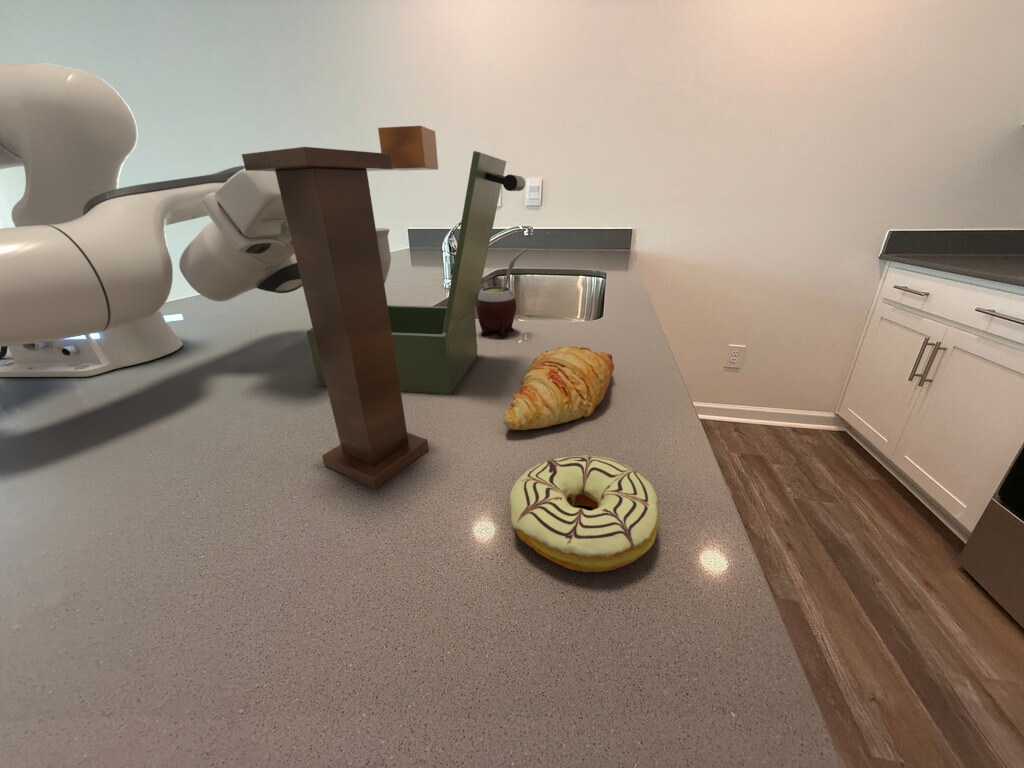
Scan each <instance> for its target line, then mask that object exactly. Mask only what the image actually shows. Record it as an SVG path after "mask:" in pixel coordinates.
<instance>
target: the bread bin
mask: <svg viewBox="0 0 1024 768" xmlns="http://www.w3.org/2000/svg"><path fill="white" fill-rule="evenodd" d="M387 305H388V312H389V318H390V325H391V331H392V338H393V344H394V351H395V357H396V364H397V370H398V377H399V383H400V390H401V392H407V393H408V392H409V393H423V394H437V395H438V394H439V395H452V394H453V392H454V390H455V389H456V387H457V386H458V385H459V383H460V382H461V380H462V379H463V378H464V376H465V375H466V373H468V370H469V369H470V367H471V366H472V365H473V364H474V362H475V360H476V359H477V357H478V341H477V325H476V311H475V309H476V308H475V307H474V308H473V309H472V310H471V311H470V312H469V313H468V314H467V315H466V316H465V317H464V318H463V319H462V320H461V321H460V322H459V323H458V324H457V325H456V326H455V327H454V328H453V329H452V330H451V331H450V332H449V333H448V334H447V333H443V326H444V320H445V315H446V309H447V306H435V305H433V306H432V305H430V306H429V305H399V304H398V305H394V304H392V305H391V304H387ZM306 337H307V340H308V344H309V348H310V352H311V357H312V360H313V365H314V369H315V372H316V377H317V380H318V384H319V386H320V387H327V386H326V381H325V377H324V373H323V369H322V365H321V361H320V356H319V352H318V348H317V344H316V340H315V335H314V331H313V327H311V328H309V329H308V330H306Z"/></svg>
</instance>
